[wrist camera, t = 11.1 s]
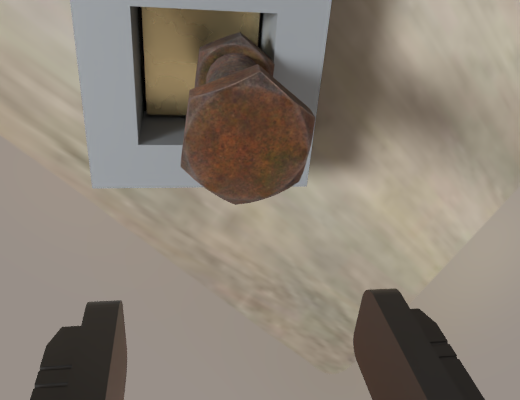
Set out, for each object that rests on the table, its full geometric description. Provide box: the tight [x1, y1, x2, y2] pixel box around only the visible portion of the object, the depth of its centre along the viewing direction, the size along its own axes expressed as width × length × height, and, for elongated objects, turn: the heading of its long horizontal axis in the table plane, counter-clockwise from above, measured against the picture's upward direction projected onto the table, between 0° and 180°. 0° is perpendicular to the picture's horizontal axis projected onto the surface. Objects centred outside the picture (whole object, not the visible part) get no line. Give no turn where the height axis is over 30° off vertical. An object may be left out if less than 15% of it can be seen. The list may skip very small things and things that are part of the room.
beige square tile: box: [142, 7, 260, 115], centre depth 33 cm, size 7×7×2 cm
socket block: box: [70, 0, 332, 188], centre depth 31 cm, size 14×14×6 cm
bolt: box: [180, 32, 315, 205], centre depth 26 cm, size 6×5×15 cm
